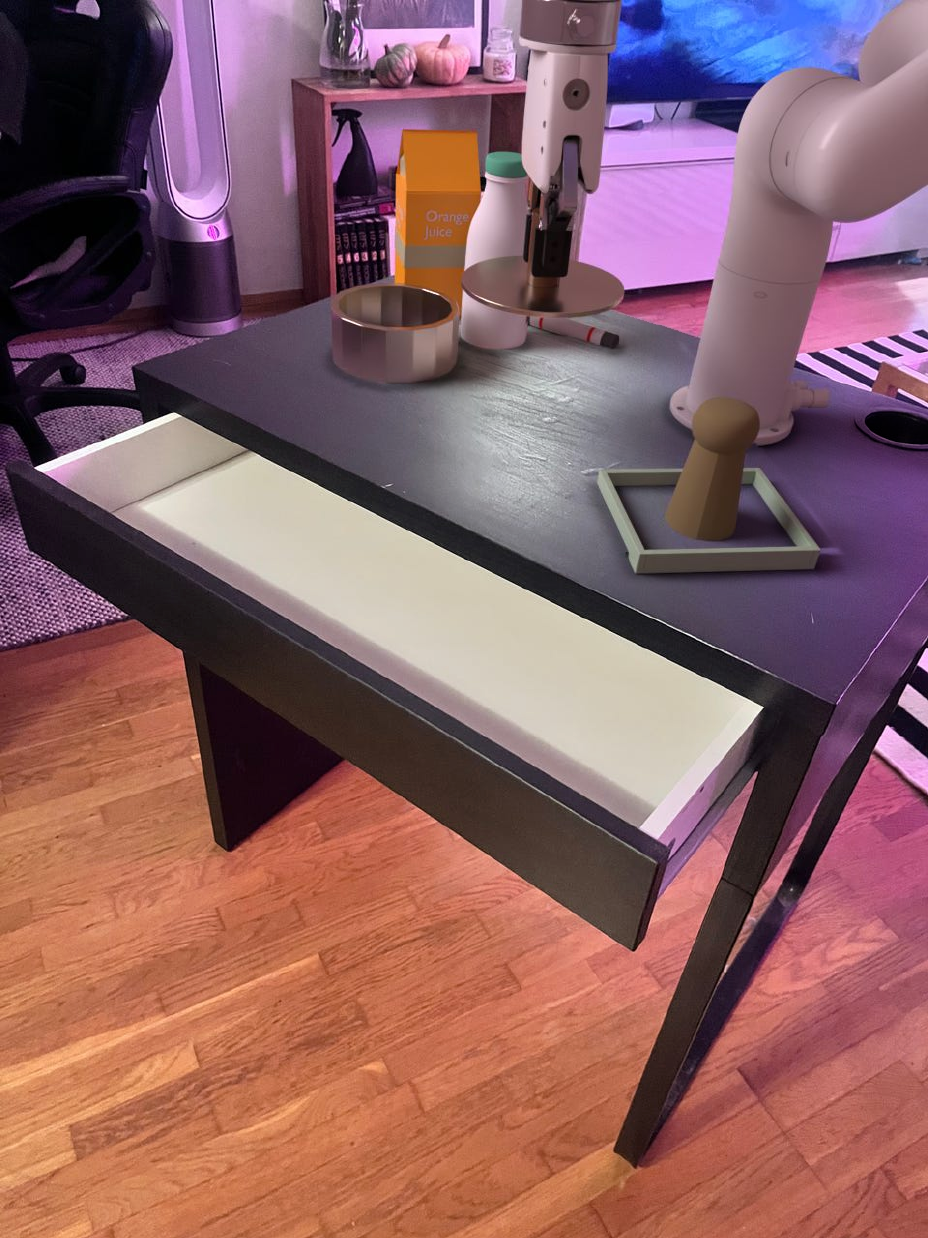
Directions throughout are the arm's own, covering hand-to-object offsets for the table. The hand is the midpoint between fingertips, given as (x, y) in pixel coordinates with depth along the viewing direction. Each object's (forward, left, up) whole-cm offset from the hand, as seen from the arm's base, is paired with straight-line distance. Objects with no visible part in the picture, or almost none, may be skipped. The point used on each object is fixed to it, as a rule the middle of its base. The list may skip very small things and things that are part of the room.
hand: (544, 266), depth 82 cm
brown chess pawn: (-12, +18, -16) cm, 27 cm away
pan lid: (0, 0, -2) cm, 2 cm away
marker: (-8, -24, -16) cm, 30 cm away
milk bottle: (0, -22, -16) cm, 27 cm away
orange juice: (+6, -33, -16) cm, 37 cm away
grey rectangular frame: (-12, +18, -16) cm, 27 cm away
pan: (+12, -16, -16) cm, 25 cm away
